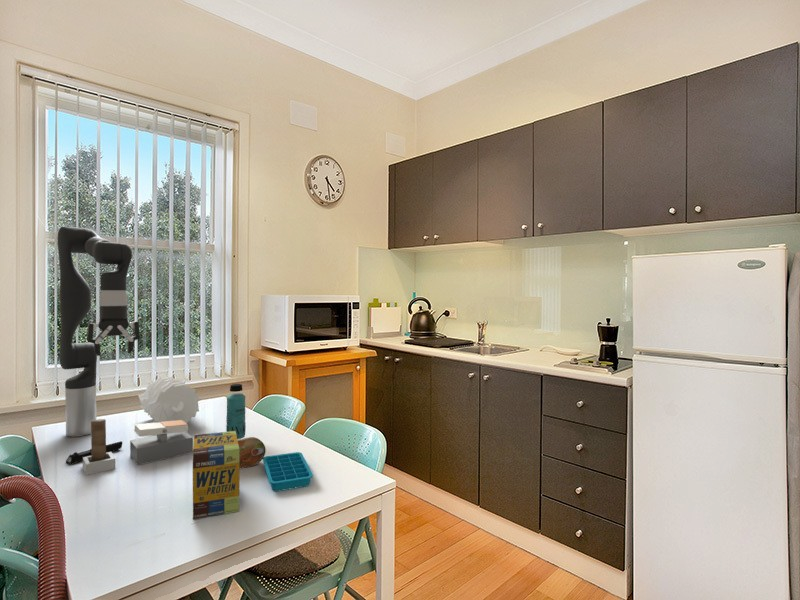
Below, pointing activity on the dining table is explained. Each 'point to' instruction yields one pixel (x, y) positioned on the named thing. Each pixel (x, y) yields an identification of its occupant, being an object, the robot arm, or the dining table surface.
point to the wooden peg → (98, 439)
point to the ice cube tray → (287, 471)
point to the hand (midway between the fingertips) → (114, 354)
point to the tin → (250, 451)
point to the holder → (98, 464)
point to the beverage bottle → (236, 411)
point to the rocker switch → (161, 428)
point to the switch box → (160, 447)
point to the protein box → (215, 474)
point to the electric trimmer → (79, 456)
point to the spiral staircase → (169, 400)
